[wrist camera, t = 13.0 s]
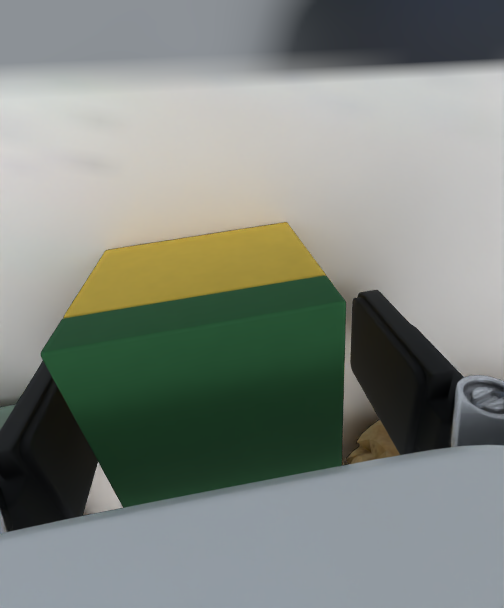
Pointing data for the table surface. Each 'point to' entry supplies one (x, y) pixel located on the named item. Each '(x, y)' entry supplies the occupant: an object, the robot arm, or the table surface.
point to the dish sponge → (205, 363)
